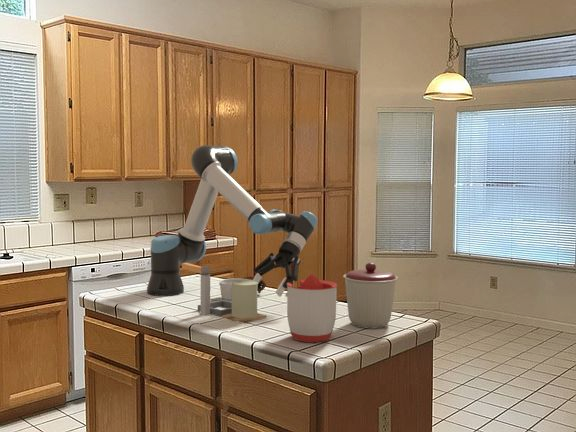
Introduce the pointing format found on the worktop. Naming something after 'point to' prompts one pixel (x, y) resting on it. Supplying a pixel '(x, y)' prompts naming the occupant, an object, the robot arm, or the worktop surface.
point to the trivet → (244, 320)
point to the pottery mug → (259, 287)
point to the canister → (370, 296)
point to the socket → (209, 307)
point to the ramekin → (228, 288)
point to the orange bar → (196, 268)
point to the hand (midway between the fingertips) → (264, 291)
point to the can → (244, 299)
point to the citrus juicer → (311, 309)
